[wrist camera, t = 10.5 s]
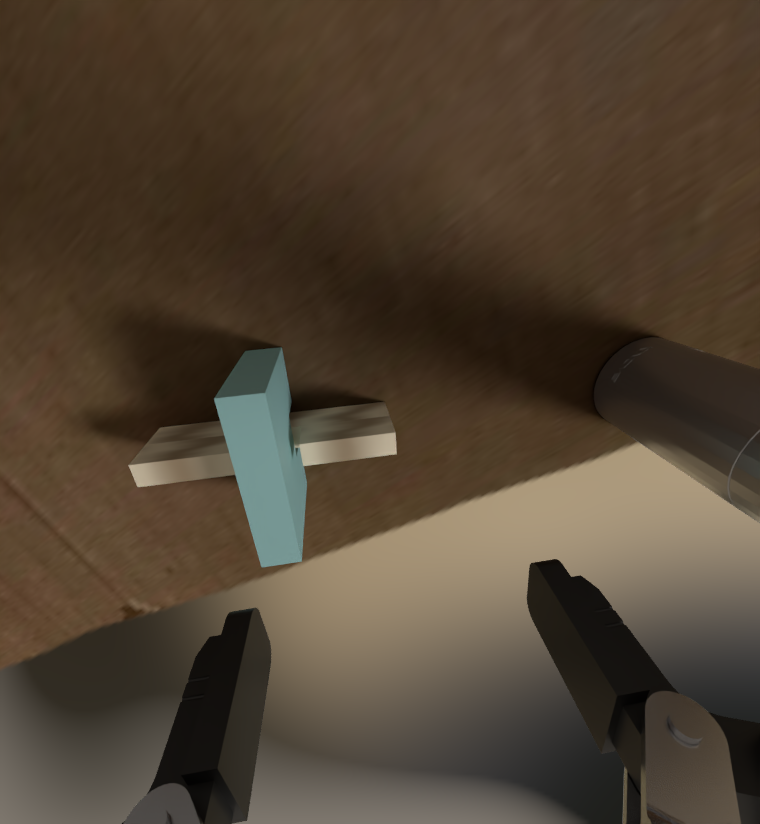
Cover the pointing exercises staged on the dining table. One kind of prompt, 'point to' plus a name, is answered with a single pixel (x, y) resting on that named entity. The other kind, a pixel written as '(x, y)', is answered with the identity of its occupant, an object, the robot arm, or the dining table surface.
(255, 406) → the teal cross plate
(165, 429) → the maple base plate
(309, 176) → the dining table surface
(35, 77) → the dining table surface
